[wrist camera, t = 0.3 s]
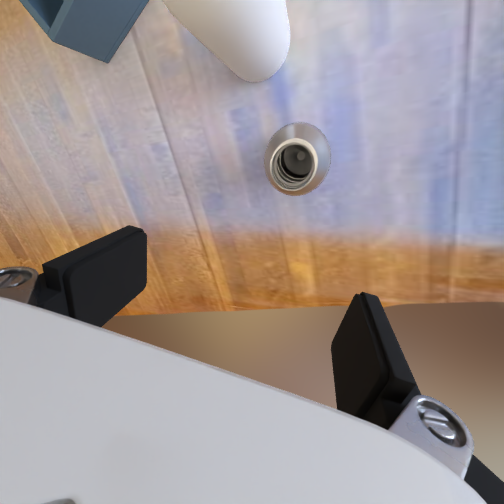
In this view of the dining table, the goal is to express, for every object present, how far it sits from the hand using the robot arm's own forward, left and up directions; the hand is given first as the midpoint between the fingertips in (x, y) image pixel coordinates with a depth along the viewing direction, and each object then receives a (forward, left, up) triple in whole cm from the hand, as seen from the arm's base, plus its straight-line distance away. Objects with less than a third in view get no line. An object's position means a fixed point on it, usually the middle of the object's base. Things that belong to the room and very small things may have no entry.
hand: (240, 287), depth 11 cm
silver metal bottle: (-4, -2, -31) cm, 31 cm away
